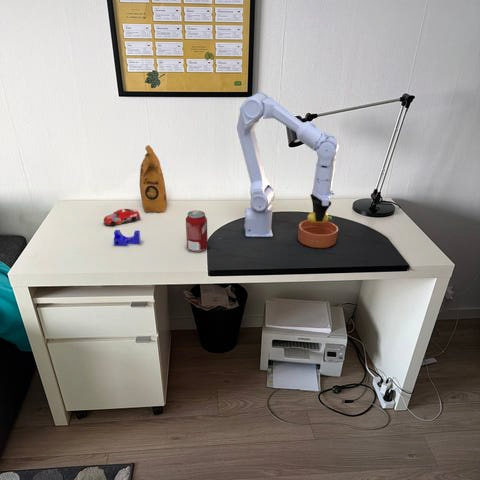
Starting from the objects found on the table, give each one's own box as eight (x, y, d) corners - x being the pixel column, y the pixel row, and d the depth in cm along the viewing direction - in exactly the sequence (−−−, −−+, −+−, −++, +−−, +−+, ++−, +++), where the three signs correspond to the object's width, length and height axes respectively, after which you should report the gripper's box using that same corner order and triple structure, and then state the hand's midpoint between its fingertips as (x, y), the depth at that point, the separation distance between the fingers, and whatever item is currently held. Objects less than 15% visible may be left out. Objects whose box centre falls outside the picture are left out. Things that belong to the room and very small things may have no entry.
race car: (107, 228, 154) (105, 217, 152) (101, 222, 158) (100, 212, 156) (142, 220, 160) (140, 210, 158) (136, 215, 164) (135, 205, 162)
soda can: (199, 255, 140) (198, 219, 133) (182, 249, 143) (181, 214, 136) (211, 247, 145) (211, 212, 138) (195, 242, 148) (194, 208, 141)
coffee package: (140, 213, 166) (133, 153, 153) (142, 201, 176) (136, 144, 163) (166, 213, 167) (162, 153, 154) (167, 201, 177) (163, 144, 164)
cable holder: (114, 245, 143) (112, 234, 141) (116, 241, 146) (115, 229, 144) (139, 246, 144) (137, 235, 141) (141, 241, 146) (139, 230, 144)
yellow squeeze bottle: (307, 224, 146) (309, 214, 144) (306, 220, 148) (307, 210, 146) (331, 224, 146) (333, 215, 144) (329, 220, 149) (330, 211, 147)
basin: (300, 249, 146) (302, 235, 143) (294, 232, 157) (296, 219, 154) (339, 249, 147) (341, 235, 144) (331, 232, 157) (333, 219, 155)
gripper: (341, 186, 133) (334, 227, 141) (331, 171, 144) (325, 210, 152) (318, 185, 132) (312, 227, 140) (310, 170, 144) (305, 210, 152)
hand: (317, 218), depth 146 cm, fingers closed on yellow squeeze bottle, 3 cm apart
